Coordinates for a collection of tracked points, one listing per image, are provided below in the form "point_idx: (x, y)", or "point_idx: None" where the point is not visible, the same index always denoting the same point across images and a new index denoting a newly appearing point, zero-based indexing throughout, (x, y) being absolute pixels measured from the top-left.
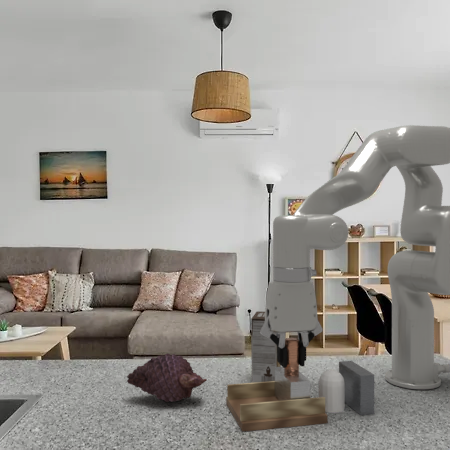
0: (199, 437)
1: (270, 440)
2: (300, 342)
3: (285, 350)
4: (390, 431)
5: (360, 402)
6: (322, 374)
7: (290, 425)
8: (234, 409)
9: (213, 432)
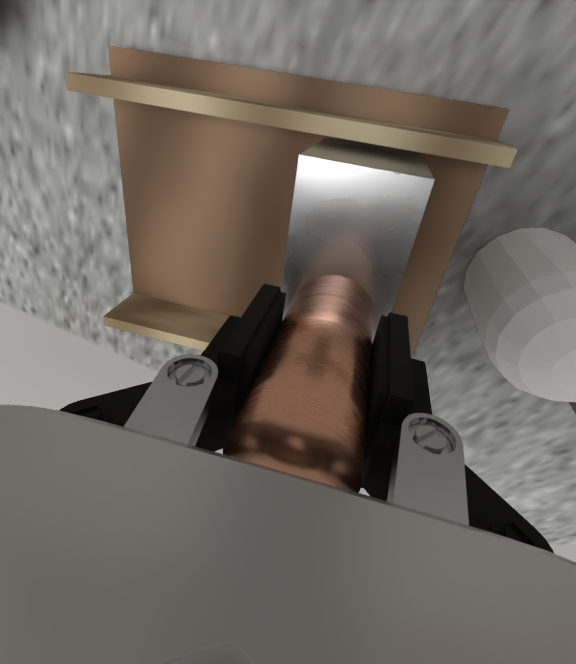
0: (42, 286)
1: None
2: (371, 478)
3: None
4: (520, 469)
5: (570, 404)
6: (525, 339)
7: None
8: (127, 208)
9: (75, 276)
